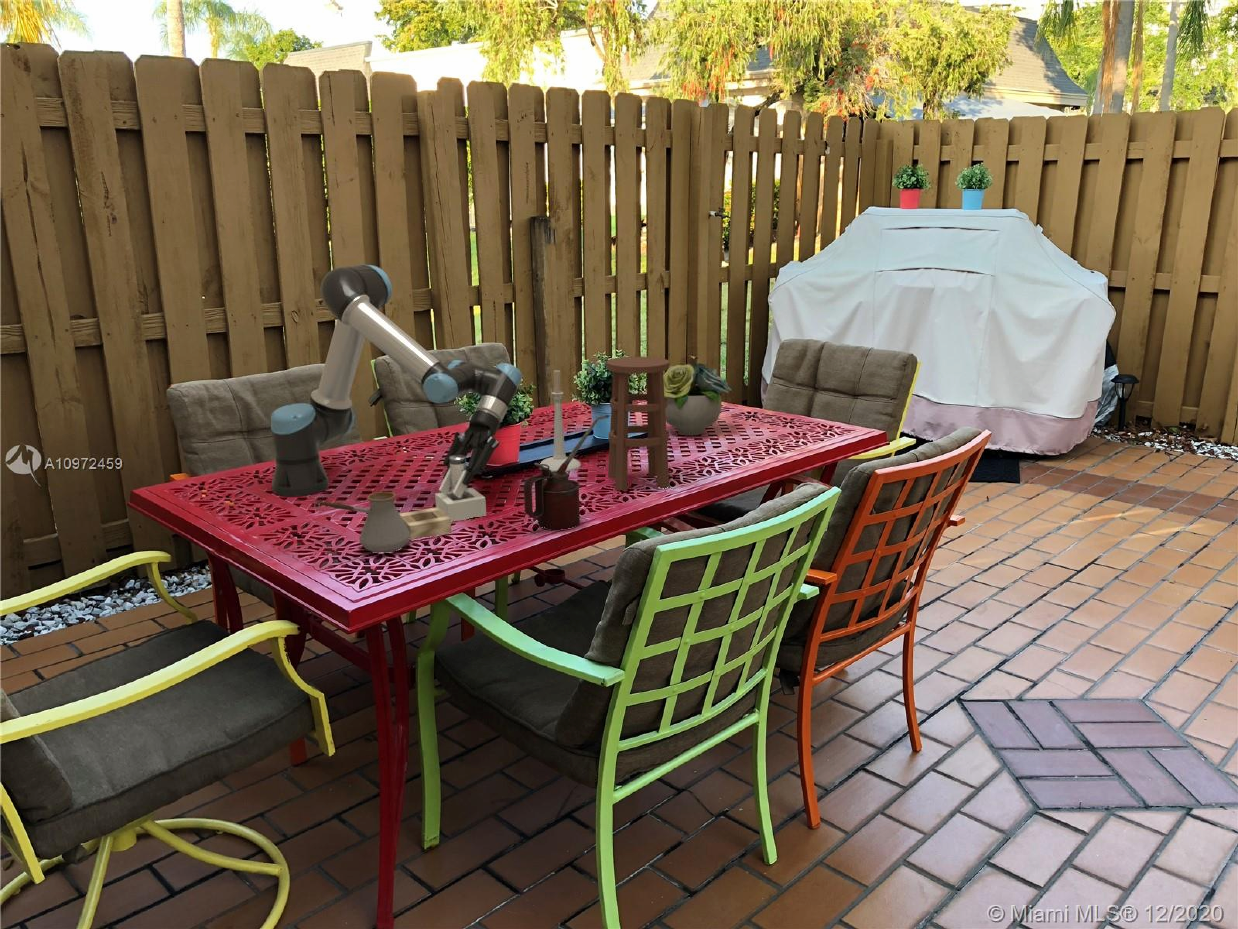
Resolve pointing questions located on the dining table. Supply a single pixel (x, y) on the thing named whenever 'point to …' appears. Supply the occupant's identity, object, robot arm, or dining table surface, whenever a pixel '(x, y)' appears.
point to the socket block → (426, 523)
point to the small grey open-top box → (462, 505)
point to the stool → (653, 408)
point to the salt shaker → (457, 474)
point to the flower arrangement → (693, 397)
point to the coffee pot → (379, 523)
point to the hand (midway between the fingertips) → (449, 493)
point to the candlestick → (559, 433)
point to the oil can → (555, 494)
